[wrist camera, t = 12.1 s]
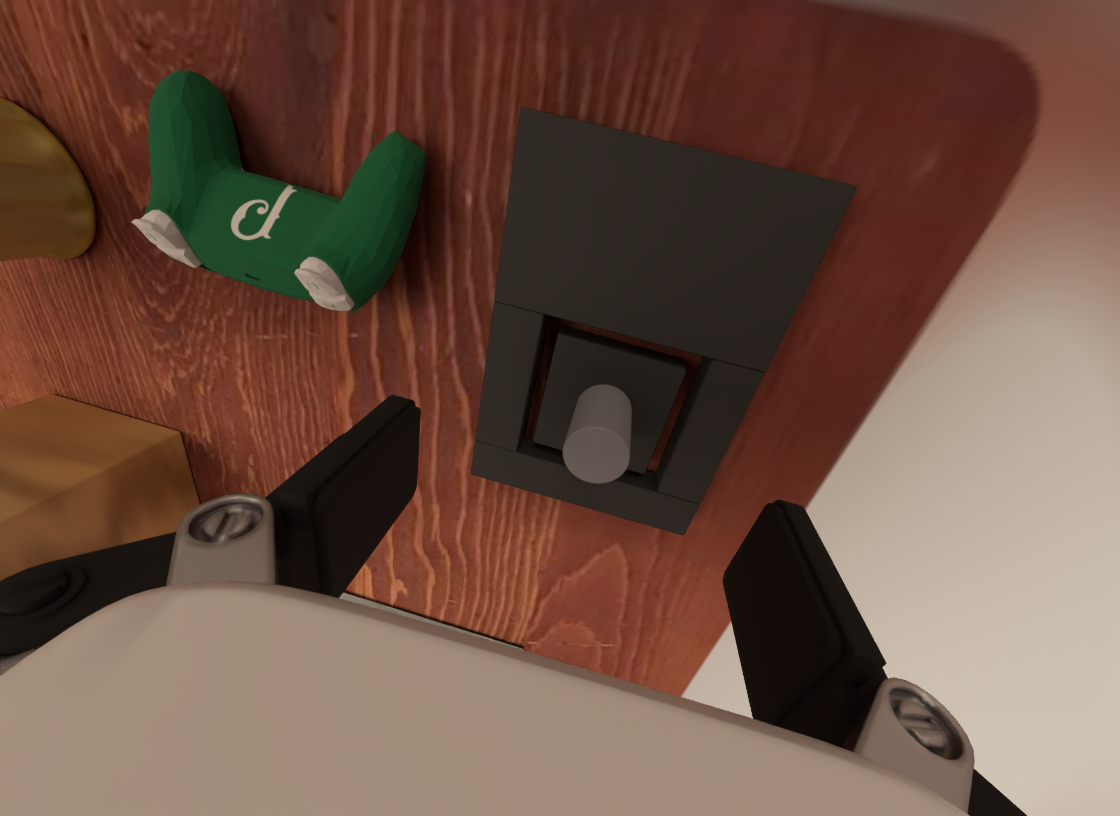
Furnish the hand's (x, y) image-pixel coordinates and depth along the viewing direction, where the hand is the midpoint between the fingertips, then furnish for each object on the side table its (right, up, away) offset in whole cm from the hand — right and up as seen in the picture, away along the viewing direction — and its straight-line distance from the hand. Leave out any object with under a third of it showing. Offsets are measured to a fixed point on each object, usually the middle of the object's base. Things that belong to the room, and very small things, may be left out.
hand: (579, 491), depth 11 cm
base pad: (+2, +5, +6) cm, 7 cm away
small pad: (+1, +3, +7) cm, 7 cm away
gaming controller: (-10, +10, +5) cm, 15 cm away
